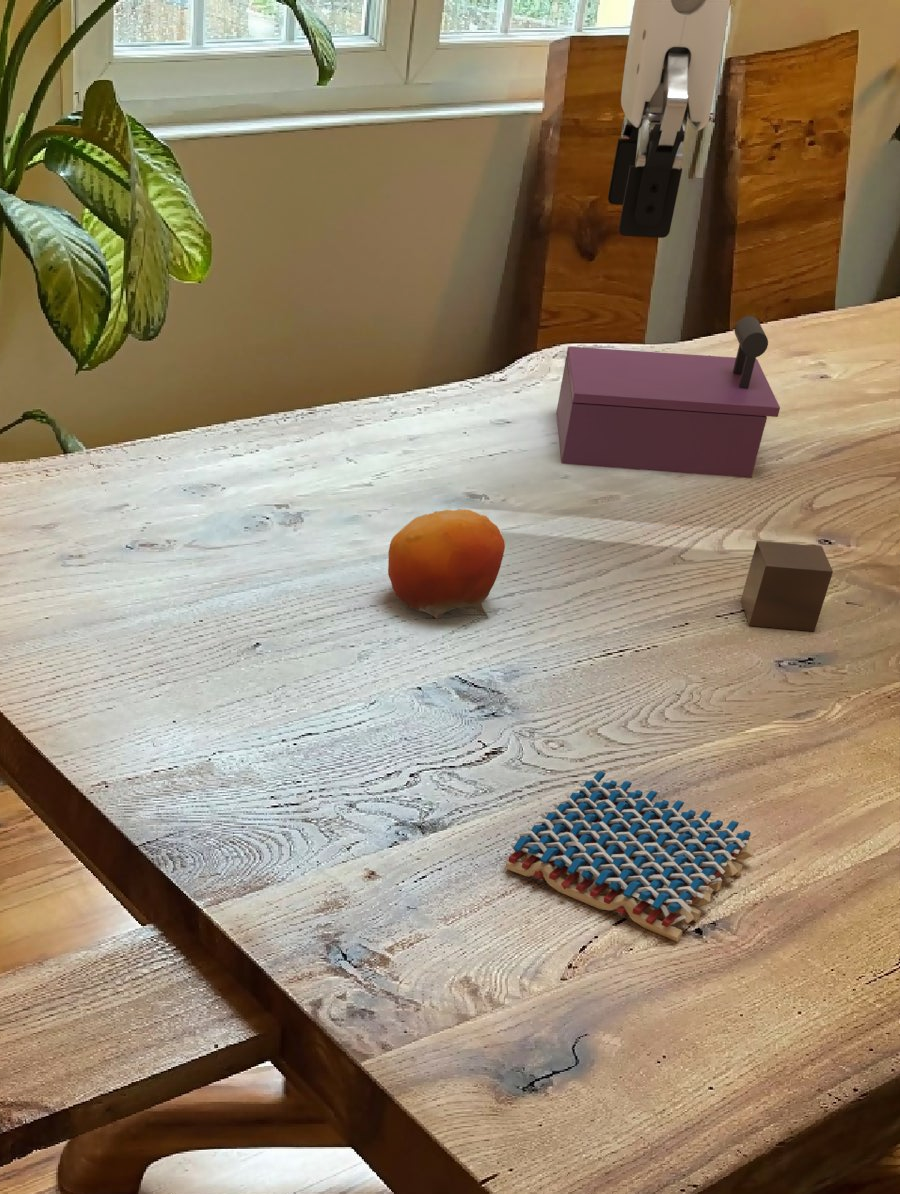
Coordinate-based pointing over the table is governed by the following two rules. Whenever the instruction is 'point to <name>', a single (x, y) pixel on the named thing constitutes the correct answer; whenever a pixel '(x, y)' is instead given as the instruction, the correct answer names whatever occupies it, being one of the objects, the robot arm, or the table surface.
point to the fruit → (445, 561)
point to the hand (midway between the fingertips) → (636, 219)
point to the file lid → (677, 377)
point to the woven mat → (630, 854)
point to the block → (786, 586)
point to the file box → (656, 437)
